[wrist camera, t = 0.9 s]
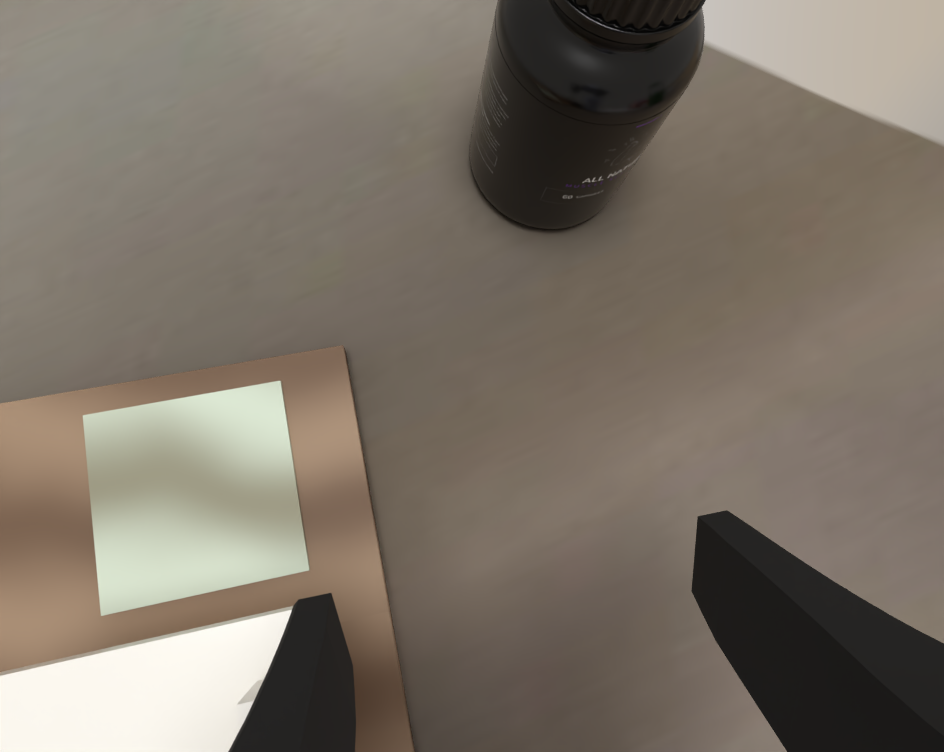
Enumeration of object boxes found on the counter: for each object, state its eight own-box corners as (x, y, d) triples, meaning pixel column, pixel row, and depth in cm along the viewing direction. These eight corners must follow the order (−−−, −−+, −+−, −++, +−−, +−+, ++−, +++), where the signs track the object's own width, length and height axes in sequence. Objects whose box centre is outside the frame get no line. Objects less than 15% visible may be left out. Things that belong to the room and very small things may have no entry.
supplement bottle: (588, 259, 27) (726, 72, 16) (444, 196, 27) (473, -40, 15) (638, 131, 29) (798, -125, 17) (502, 72, 29) (569, -228, 17)
